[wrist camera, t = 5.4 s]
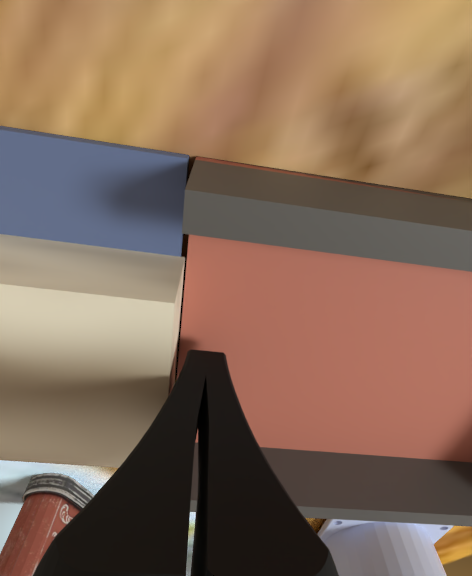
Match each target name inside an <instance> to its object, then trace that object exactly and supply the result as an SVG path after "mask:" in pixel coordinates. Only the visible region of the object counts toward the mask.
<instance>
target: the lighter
mask: <svg viewBox="0 0 472 576" xmlns="http://www.w3.org/2000/svg"><path fill="white" fill-rule="evenodd" d="M93 497H94V495H93V494H92V493H91V492H89V491H88V490H87V489H86V488H84V487H83V486H82V485H81V484H79V483H78V482H77V481H76V480H74V479H73V478H71V477H69V476H66V475H62V474H56V473H44V474H40V475H37V476H35V477H33V478H32V479H31V481H30V482H29V485H28V487H27V489H26V491H25V493H24V495H23V497H22V499H23V502H24V504H23V506H22V508H21V510H20V513H19V515H18V517H17V519H16V521H15V524H14V526H13V528H12V530H11V532H10V534H9V536H8V539H7V541H6V543H5V545H4V547H3V549H2V551H1V554H0V576H33V574H34V572H35V570H36V568H37V566H38V564H39V562H40V561H41V559H42V557H43V555H44V554H45V552H46V551H47V549H48V547H49V546H50V544H51V543H52V541H53V539H54V538H55V536H56V535H57V534H58V533H59V532H60V531H61V530H62V529H63V528H64V527H65V526H66V525H67V524H68V523H69V522H70V521H71V520H72V519H73V518H74V517H75V516H76V515H77V514H78V513H79V512H80V511H81V510H82V509H83V508H84V507H85V506H86V505H87V503H88V502H89V501H90V500H91V499H92V498H93Z"/></svg>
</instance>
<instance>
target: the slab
mask: <svg viewBox="0 0 472 576" xmlns="http://www.w3.org/2000/svg"><path fill="white" fill-rule="evenodd" d="M184 263H185V257H179V256H171V255H163V254H155V253H147V252H139V251H131V250H123V249H115V248H108V247H100V246H92V245H84V244H76V243H68V242H60V241H52V240H44V239H36V238H28V237H20V236H12V235H4V234H0V460H8V461H23V462H39V463H55V464H70V465H86V466H101V467H117V468H119V467H120V466H121V465H122V463H123V462H124V461H125V460H126V458H127V457H128V456H129V454H130V453H131V452H132V451H133V449H134V448H135V447H136V445H137V444H138V443H139V441H140V440H141V438H142V437H143V436H144V434H145V433H146V431H147V430H148V429H149V427H150V426H151V424H152V423H153V421H154V419H155V418H156V416H157V415H158V413H159V411H160V410H161V408H162V406H163V405H164V403H165V401H166V400H167V398H168V396H169V394H170V392H171V390H172V389H173V387H174V385H175V373H176V361H177V349H178V337H179V324H180V312H181V300H182V288H183V275H184Z"/></svg>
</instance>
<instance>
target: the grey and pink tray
mask: <svg viewBox="0 0 472 576" xmlns="http://www.w3.org/2000/svg"><path fill="white" fill-rule="evenodd" d="M182 234H189V239H188V251H187V263H186V275H185V286H184V298H183V310H182V322H181V334H180V345H179V357H178V369H177V379H178V377H179V374H180V372H181V370H182V367H183V365H184V362H185V359H186V356H187V351H189V350H191V349H192V350H203V351H213V352H223V353H224V354H225V355H226V359H227V364H228V368H229V372H230V376H231V379H232V383H233V386H234V389H235V392H236V394H237V397H238V400H239V402H240V405H241V408H242V410H243V412H244V415H245V417H246V419H247V422H248V424H249V426H250V428H251V430H252V433H253V435H254V437H255V439H256V441H257V443H258V445H259V446H260V448H261V450H262V452H263V454H264V456H265V458H266V459H267V461H268V463H269V464H270V466H271V468H272V470H273V471H274V473H275V474H276V476H277V478H278V479H279V481H280V482H281V484H282V485H283V487H284V488H285V490H286V492H287V493H288V495H289V496H290V498H291V499H292V501H293V502H294V504H295V505H296V506H297V508H298V509H299V511H300V512H301V513H302V515H303V516H304V518H321V519H340V520H359V521H378V522H397V523H416V524H435V525H454V526H472V199H469V198H463V197H456V196H450V195H444V194H437V193H431V192H424V191H418V190H411V189H405V188H398V187H392V186H385V185H379V184H372V183H366V182H360V181H353V180H347V179H340V178H334V177H327V176H321V175H314V174H308V173H301V172H295V171H289V170H282V169H276V168H269V167H263V166H256V165H250V164H243V163H237V162H230V161H224V160H217V159H211V158H205V157H198V156H196V159H195V162H194V165H193V168H192V171H191V173H190V176H189V179H188V182H187V185H186V188H185V197H184V210H183V224H182ZM197 496H198V430H197V436H196V441H195V448H194V461H193V474H192V487H191V501H190V512H196V508H197Z"/></svg>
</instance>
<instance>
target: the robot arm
mask: <svg viewBox="0 0 472 576" xmlns="http://www.w3.org/2000/svg"><path fill="white" fill-rule="evenodd" d="M197 430H198V496H197V508H196V520H195V532H194V544H193V556H192V567H191V576H446V573H445V571H444V568H443V566H442V564H441V561H440V559H439V557H438V554H437V552H436V550H435V547H434V545H433V544H434V543H435V542H437V541H438V540H439V539H440V538H441V537H442V536H443V535H444V534H445V533H446V532H448V531H449V530H450V529H451V528H452V527H453V526H454V525H435V524H416V523H397V522H378V521H359V520H340V519H327V520H326V521H325V523H324V524H323V526H322V527H321V529H320V530H319V532H318V534H317V533H316V532H315V531H314V529H313V528H312V527H311V526H310V524H309V523H308V522H307V520H306V519H305V518H304V516H303V515H302V513H301V512H300V511H299V509H298V508H297V506H296V505H295V504H294V502H293V501H292V499H291V498H290V496H289V495H288V493H287V492H286V490H285V488H284V487H283V485H282V484H281V482H280V481H279V479H278V478H277V476H276V474H275V473H274V471H273V470H272V468H271V466H270V464H269V463H268V461H267V459H266V458H265V456H264V454H263V452H262V450H261V448H260V446H259V445H258V443H257V441H256V439H255V437H254V435H253V433H252V430H251V428H250V426H249V424H248V422H247V419H246V417H245V415H244V412H243V410H242V408H241V405H240V402H239V400H238V397H237V394H236V392H235V389H234V386H233V383H232V379H231V376H230V372H229V368H228V364H227V359H226V355H225V354H224V353H223V352H213V351H203V350H192V349H191V350H189V351H187V356H186V359H185V362H184V365H183V367H182V370H181V372H180V374H179V377H178V379H177V381H176V383H175V385H174V387H173V389H172V390H171V392H170V394H169V396H168V398H167V400H166V401H165V403H164V405H163V406H162V408H161V410H160V411H159V413H158V415H157V416H156V418H155V419H154V421H153V423H152V424H151V426H150V427H149V429H148V430H147V431H146V433H145V434H144V436H143V437H142V438H141V440H140V441H139V443H138V444H137V445H136V447H135V448H134V449H133V451H132V452H131V453H130V454H129V456H128V457H127V458H126V460H125V461H124V462H123V463H122V465H121V466H120V467H119V468H118V470H117V471H116V472H115V473H114V474H113V475H112V477H111V478H110V479H109V480H108V481H107V482H106V483H105V485H104V486H103V487H102V488H101V489H100V490H99V491H98V492H97V494H96V495H95V496H94V497H93V498H92V499H91V500H90V501H89V502H88V503H87V505H86V506H85V507H84V508H83V509H82V510H81V511H80V512H79V513H78V514H77V515H76V516H75V517H74V518H73V519H72V520H71V521H70V522H69V523H68V524H67V525H66V526H65V527H64V528H63V529H62V530H61V531H60V532H59V533H58V534H57V535H56V536H55V538H54V539H53V541H52V543H51V544H50V546H49V547H48V549H47V551H46V552H45V554H44V555H43V557H42V559H41V561H40V562H39V564H38V566H37V568H36V570H35V572H34V574H33V576H186V561H187V545H188V530H189V515H190V501H191V487H192V474H193V461H194V448H195V441H196V436H197Z"/></svg>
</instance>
